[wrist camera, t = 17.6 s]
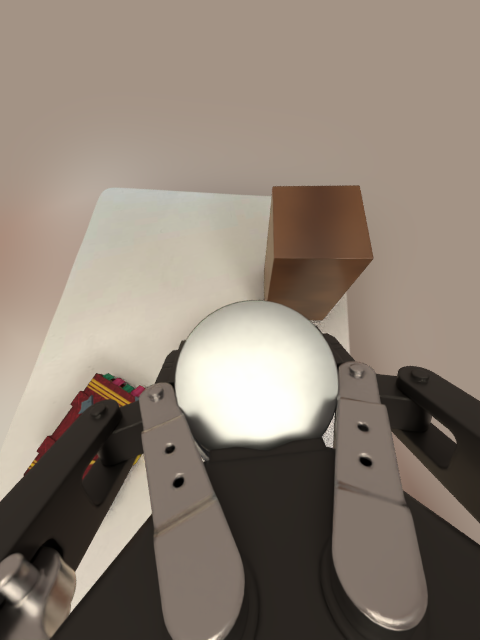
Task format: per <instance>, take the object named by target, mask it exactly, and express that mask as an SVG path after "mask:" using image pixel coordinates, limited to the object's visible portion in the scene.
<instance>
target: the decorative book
mask: <svg viewBox="0 0 480 640" xmlns="http://www.w3.org/2000/svg"><path fill="white" fill-rule="evenodd" d="M114 378H115V377H114V376H112V375H110V374H109V373H108V374H105V375H102V374H97V373H96V374H95V376H94V377H93V379H92V380H91V381H90V383H89V384H88V386H87V387H86V388H85V390H84V391H80V392H79V393H78V394H77V396H76V397H75V399H74V400H73V401H72V403H71V404H70V405H72V408H71V409H70V411H69V412H68V413H67V415H66V416H65V418H64V419H63V420H62V422H61V423H60V425H59V426H58V427H57V429H56V430H55V432H54V433H53V434H52V435H51V436H47V437H46V439H45V440H44V441H43V443H42V444H41V446H40V447H39V448H38V450H37V452H38V453H39V454H38V455H37V457H36V458H35V459H34V461H33V462H32V464H31V465H30V466H29V468H28V469H27V470H26V472H25V473H24V476H25V474H26V473H27V472H28V471H29V470H30V469H31V468H32V467H33V466H34V465H35V464H36V463H37V462H38V460H39V459H40V458H41V457H42V456H43V455H44V454H45V453H46V452H47V451H48V450H49V449H50V447H51V446H52V445H53V444H54V443H55V442H56V441H57V440H58V439H59V438H60V437H61V436H62V434H63V433H64V432H65V431H66V430H67V429H68V428H69V427H70V426H71V425H72V424H73V423H74V421H75V420H76V419H77V418H78V417H79V416H80V415H81V414H82V413H83V412H84V411H85V410H86V409H87V408H88V407H90V406H91V405H93V404H95V403H97V402H99V401H102V400H107V399H113V400H115V401H117V403H118V405H119V407H121V406H124V405H127V404H130V403H133V402H136V401H138V400H139V396H140V394H141V393H142V392H143V391H144V390H145V388H144V387H142V386H140V385H139V386H138V387H137V388H136V389H135V390H133V389H134V388H133V387H132V386H130V385H128V384H127V385H124V384H122V383H124V382H125V381H124V380H122V379H121V378H117V379H114ZM140 456H141V455H138V456H137V458H136V460H135V462H134V464H136V463H137V461H138V459H139V457H140ZM97 458H98V455H97V454H96V456H95V457H94V458H93V460H92V461H91V463H90V464H89V465H88V467H87V468H86V470H85V472H84V474H83V478H84V477H85V476H86V474H87V473H88V471H89V470H90V468H91V467H92V465H93V464H94V463H95V461H96V460H97ZM134 464H133V465H134ZM83 478H82V480H83Z"/></svg>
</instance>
